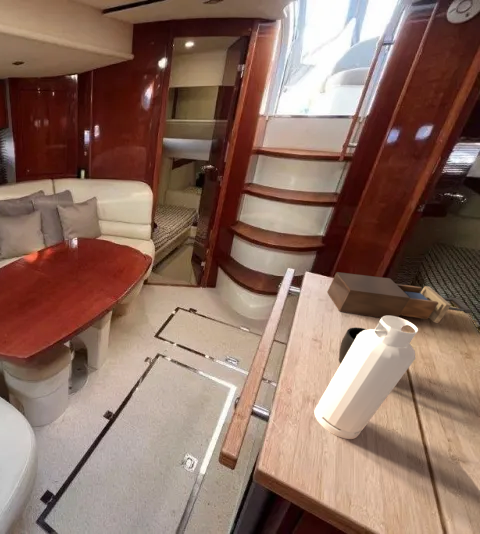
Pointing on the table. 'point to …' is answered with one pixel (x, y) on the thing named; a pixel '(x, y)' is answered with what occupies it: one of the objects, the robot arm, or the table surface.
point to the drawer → (429, 304)
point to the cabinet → (367, 295)
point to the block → (416, 295)
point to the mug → (348, 341)
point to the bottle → (366, 377)
